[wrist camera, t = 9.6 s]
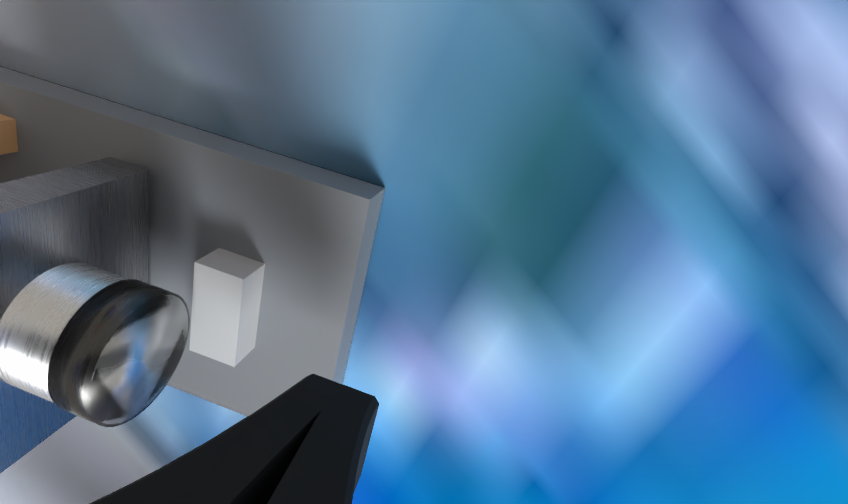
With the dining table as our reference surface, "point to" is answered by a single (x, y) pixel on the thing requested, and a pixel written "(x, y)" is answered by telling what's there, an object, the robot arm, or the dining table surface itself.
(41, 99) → the rail
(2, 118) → the block
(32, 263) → the shaft
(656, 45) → the dining table surface
